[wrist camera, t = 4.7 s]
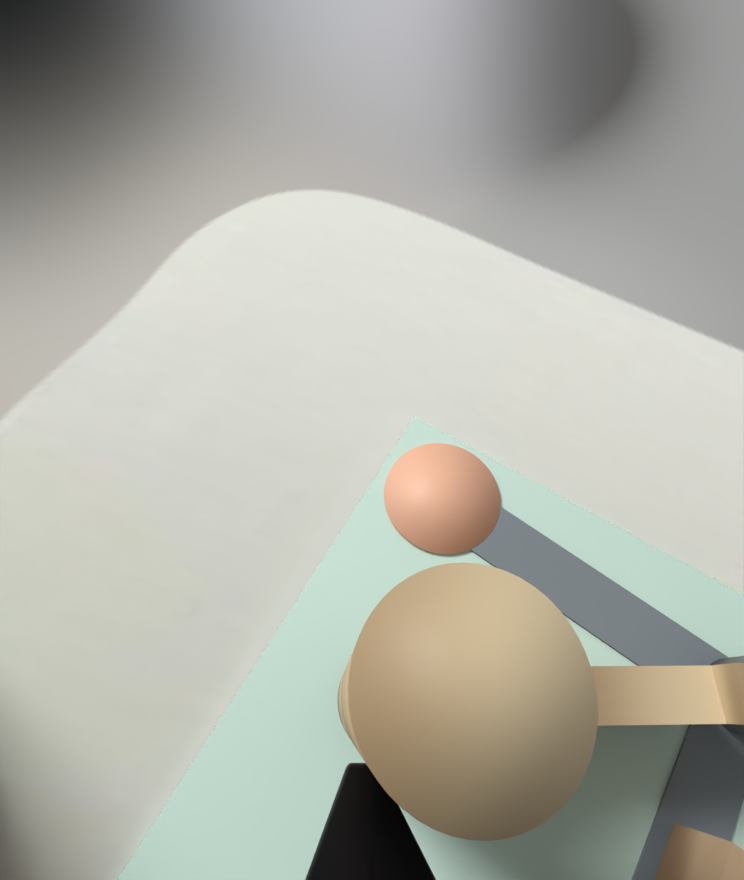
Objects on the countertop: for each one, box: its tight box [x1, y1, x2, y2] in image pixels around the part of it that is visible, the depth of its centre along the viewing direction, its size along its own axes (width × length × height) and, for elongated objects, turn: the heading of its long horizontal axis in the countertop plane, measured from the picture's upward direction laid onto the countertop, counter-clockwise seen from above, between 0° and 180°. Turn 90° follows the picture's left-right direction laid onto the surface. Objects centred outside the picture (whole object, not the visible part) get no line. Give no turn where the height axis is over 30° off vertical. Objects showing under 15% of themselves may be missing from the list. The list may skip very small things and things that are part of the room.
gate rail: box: [337, 562, 744, 841], centre depth 11 cm, size 13×3×10 cm, turn 91°
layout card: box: [117, 416, 744, 880], centre depth 14 cm, size 17×17×1 cm
